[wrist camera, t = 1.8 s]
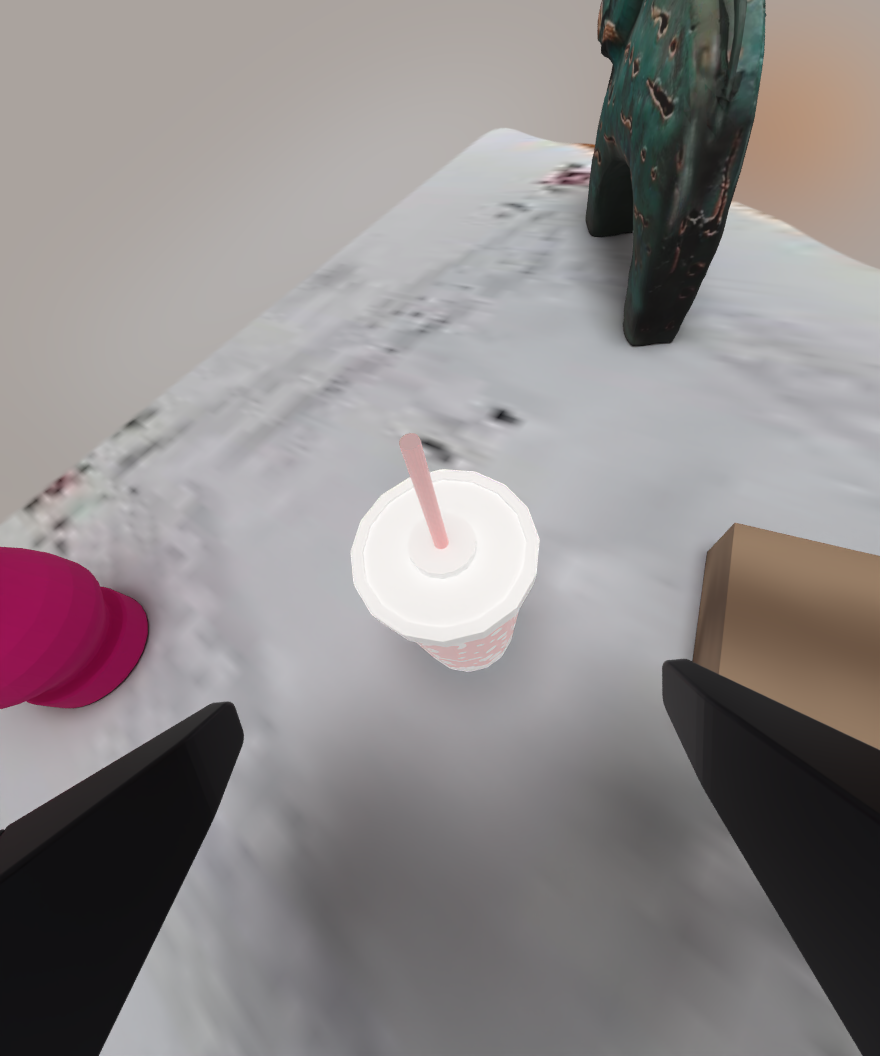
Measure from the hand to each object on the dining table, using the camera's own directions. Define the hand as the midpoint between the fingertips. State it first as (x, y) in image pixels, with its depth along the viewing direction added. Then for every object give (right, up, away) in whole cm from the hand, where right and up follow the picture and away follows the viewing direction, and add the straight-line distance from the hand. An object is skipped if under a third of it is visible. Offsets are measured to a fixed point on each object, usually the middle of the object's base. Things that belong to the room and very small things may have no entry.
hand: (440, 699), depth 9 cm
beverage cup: (+1, -1, +13) cm, 13 cm away
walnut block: (+16, -3, +9) cm, 19 cm away
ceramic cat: (+15, +24, +25) cm, 38 cm away
